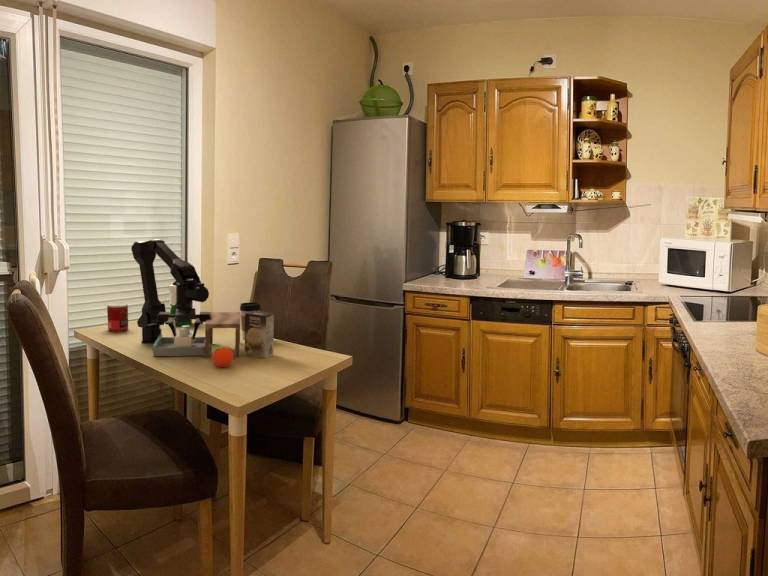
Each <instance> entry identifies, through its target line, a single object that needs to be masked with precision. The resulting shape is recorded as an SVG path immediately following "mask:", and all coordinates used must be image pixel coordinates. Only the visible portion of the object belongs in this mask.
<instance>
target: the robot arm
mask: <svg viewBox="0 0 768 576" xmlns="http://www.w3.org/2000/svg"><path fill="white" fill-rule="evenodd" d="M132 244H133V245H131V252H132V257H133V259H134V261H136V263H137V264H138V267H139V272H140V277H141V279H140V280H141V283H142V284H141V285H142V291H143V298H144V302H143V305H142V308H141V315H140V317H139V318H138V319H137V321H136V323H137V327H139V328H141V337H142V338H141V344H147V343H148V344H151V343H152V344H154V343H155V341H156V340H157V338H158V336H159V335H162V336H163V333H162V332H163V331H162V328H161V326H164V325H168V327H169V329H170V330H171V332H172V337H175V335H176V334H177V326H176V325H175V320H174V319H176V322H189V321H190V319H192V320H195V321H194V326H193V332H194V333H193V340H194V339H195V337H197V332H198V329H199V327H200V325H203V324H204V323H206V320H210V319H211V313H210V312H211V311H200V312H199V314H198V313H197V312H196V308H194V307H193V302H199V303H204V302H206V301H207V300H208V299H209V296H210V292H209V290H208V288H207V287H205V283H203V282H201V278H200V276H199V275H198V273H197V271H196V268H195V266H194V265H193V264H191V263H190V262H188V261H186V260H184V259H182V258H180V257H179V256H178V255H177V254H176V253H175V252H174V251H173V250H172V249H171V248H170V247H169V246H168V245H167V244H166V242H165V240H163V239H161V238H160V239H159V238H156V239H155V238H154V239H153V238H152V239H150V240H147V241H146V240H145V241H143V240H142V241H134V243H132ZM157 256H158V257H159V258H160V259H161V260H162V261H163V262H164V263H165V265H166V266H168V268H169V271H170V275H171V276H172V278H173V279H174V280H175V281H173V283H172V284H173V285H174V286H176V310H175V314H170V311H167V310H166V305H165V303H164V302H163V303H162V302H161V301H160V300H159V293H158V288H157V282H156V281H157V280H156V275H155V268H154V262H155V259H156V257H157ZM184 280H186V281H184ZM196 313H197V314H196Z"/></svg>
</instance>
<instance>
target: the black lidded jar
mask: <svg viewBox="0 0 768 576" xmlns="http://www.w3.org/2000/svg"><path fill="white" fill-rule="evenodd" d="M239 305H240V306H239V311H240V325H241V331H242V332H241V335H242V340H244V341H245V313H248V312H251V311H261V303H260V302H241V303H240V304H239Z"/></svg>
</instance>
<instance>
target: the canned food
mask: <svg viewBox="0 0 768 576" xmlns="http://www.w3.org/2000/svg"><path fill="white" fill-rule="evenodd" d="M106 306H107V307H106V309H107V310H106V312H107V329H108V331H109V332H111V331H114V332H113V333H119V332H118V331H122V332H126V331H128V329H129V304H128V303H126V302H125V303H124V302H111V303H107V305H106ZM125 330H126V331H125Z"/></svg>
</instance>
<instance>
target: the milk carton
mask: <svg viewBox="0 0 768 576" xmlns="http://www.w3.org/2000/svg"><path fill="white" fill-rule="evenodd" d="M184 281H186V280H184ZM167 287H168V292H169V312H170V314H175V310H176V286H174V285H173V283H171V284H169V285H168V286H167ZM174 320H175V325H176V327H182V326H185V325H188V324H189V325H191V324H192V323H193V319H190V321H189V322H176V319H174ZM189 325H188V326H189Z"/></svg>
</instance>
